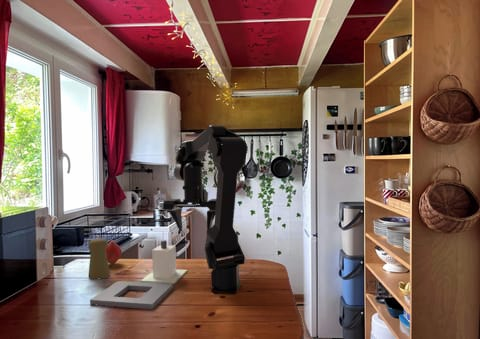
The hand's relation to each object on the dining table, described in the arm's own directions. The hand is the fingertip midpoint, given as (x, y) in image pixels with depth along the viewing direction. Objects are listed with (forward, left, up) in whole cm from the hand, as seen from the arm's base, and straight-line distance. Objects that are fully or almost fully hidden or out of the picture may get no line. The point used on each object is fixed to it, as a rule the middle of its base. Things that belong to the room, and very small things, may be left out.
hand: (194, 231), depth 105 cm
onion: (+28, +2, -11) cm, 30 cm away
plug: (+6, +10, -11) cm, 16 cm away
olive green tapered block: (+26, +12, -11) cm, 31 cm away
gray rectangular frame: (+8, +24, -11) cm, 28 cm away
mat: (+6, +10, -11) cm, 16 cm away
